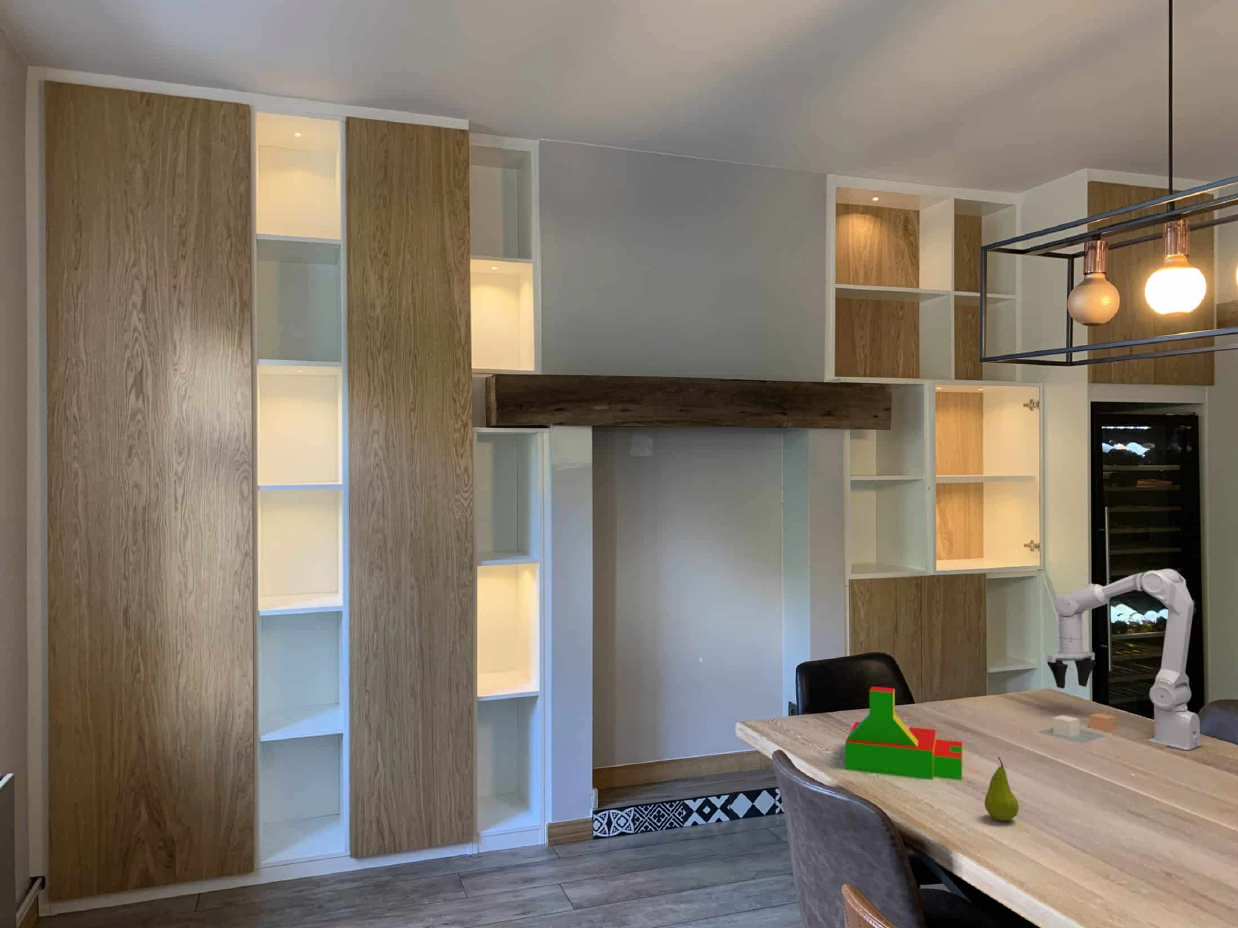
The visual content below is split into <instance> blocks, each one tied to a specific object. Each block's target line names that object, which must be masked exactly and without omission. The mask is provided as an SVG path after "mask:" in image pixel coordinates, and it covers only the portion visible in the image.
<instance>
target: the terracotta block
mask: <svg viewBox="0 0 1238 928" xmlns="http://www.w3.org/2000/svg"><path fill="white" fill-rule="evenodd" d="M1116 721H1117V720H1116V716H1115V715H1110V714H1109V715H1108V714H1103V713H1100V712H1097V713H1093V714H1091V715H1089V729H1092V730H1095V731H1096V730H1098V731H1100V732H1107V733H1108V732H1113V731H1115V730H1116V729H1117V726H1116V725H1117V722H1116Z"/></svg>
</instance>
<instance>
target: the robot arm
mask: <svg viewBox="0 0 1238 928" xmlns="http://www.w3.org/2000/svg"><path fill="white" fill-rule="evenodd" d="M1186 581H1187V580H1186V579H1185V578H1184V577H1183V576H1182V575H1181V574H1180V573H1179V572H1178V571H1177V570H1174V569H1172V568H1164V569H1158V570H1154V569H1153V570H1148V571H1146V572H1140V573H1136V574H1131V575H1129V576H1127V577H1124V578H1121V579H1119V580H1117V581H1115V582H1113V583H1110V584H1107V585H1105V586H1103V585H1100V584H1099V583H1098V584H1097V583H1095V584H1094V583H1089V584H1087V585H1086V587H1085V588H1084V587H1083V588H1082V589H1078V590H1075V589H1074V590H1071V593H1070V594H1061V595H1060V596H1058V597H1057V598H1056V599H1055V602H1054V608H1055V611H1056V612H1057V613H1058V630H1059V631H1058V632H1059V633H1058V636H1059V638H1058V639H1059V641H1058V642H1059V651H1057V652H1054V653H1050V654H1047V655H1046V656H1047V663H1046V664H1047V666H1048V667H1049V669H1050V671H1051V673H1052V675H1053V679H1054V681H1055V684H1056V685H1055V686H1056V688H1059V689H1065V687H1066V676H1067V675H1066V674H1067V670H1068V668H1069V665H1068V664H1066V663H1064V662H1070V661H1071V662H1072V661H1073V662H1074V663H1075V667H1076V672H1077V682H1078V686H1081V687H1085V688H1086V687H1087V685H1088V683H1089V682H1088V681H1089V678H1090V675H1091V673H1092V671H1093V669H1094V668H1095V666H1096V661H1095V656H1096V653H1095V652H1093V651H1083V614H1084V612H1087V611H1090V610H1092V609H1093V610H1094V609H1095V608H1096V609H1097V608H1098V607H1101V606H1105V605H1107V604H1108V602H1109V600H1110V598H1112V597H1115V596H1119V595H1121V594H1125V593H1128V592H1131V591H1134V590H1137V591H1138V592H1139V591H1140V592H1142V591H1144V592H1145V593H1147V594H1149V595H1150V596H1152V597H1153V598H1155V599H1157V600H1158V601H1160V602H1161V603H1162V604H1163V605H1164V606H1165V607H1166V608H1167V610H1168V611H1167V618H1166V626H1165V633H1164V642H1163V651H1162V657H1161V665H1160V669H1159V672H1157V675H1156V676H1155V678H1154V680H1155V681H1154V684H1153V685H1152V686H1151V688H1150V689H1149V699H1150V701H1151V702H1152V703H1153V708H1154V709H1153V714H1154V715H1153V720H1154V723H1153V724H1154V725H1153V727H1154V737H1151V738H1149V739H1147V741H1149V742H1153V743H1157V744H1161V745H1166V747H1171V748H1175V749H1179V750H1184V751H1190V750H1193V749H1196V748H1198V747H1201V746H1202V743H1201V732H1200V731H1201V728H1200V727H1201V723H1200V722H1201V721H1200V717H1199V715H1198V714H1197V713H1195V712H1192V711H1189V709H1188V705H1187V704H1188V702H1189V701H1190V700H1191V698H1192V691H1191V689H1190V685H1189V683H1190V679H1189V676H1188V674H1187V673H1186V667H1187V660H1188V652H1189V645H1190V638H1191V630H1192V623H1193V622H1192V621H1193V616H1194V615H1193V614H1194V607H1195V605H1194V601H1193V599H1192V597H1191V594H1190V592H1189V589H1188V588H1187V585H1186V584H1187V582H1186Z"/></svg>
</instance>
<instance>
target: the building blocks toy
mask: <svg viewBox="0 0 1238 928" xmlns="http://www.w3.org/2000/svg"><path fill="white" fill-rule="evenodd" d="M895 692H896V689H895V687H893V688H892V687H884V686H883V687H881V686H870V689H869V714H868V715H866V716H865V718H863V720H862V721H854V724H853V726H852V728H851V730H850V732H849V734H848V736H847V738H846V740H845V743H844V744H845V750H844V751H845V770H848V771H855V772H856V771H857V772H867V773H874V774H880V775H881V774H883V775H892V776H899V777H900V776H901V777H906V778H907V777H908V778H917V779H926V780H934V777H935V778H942V779H943V778H944V779H953V780H963V779H962V778H963V777H962V776H963V741H959V740H958V741H957V740H948V739H947V740H946V739H938V738H937V730H936V729H933V728H932V729H931V728H920V727H911V726H909V728H908V727H907V726H906V725H905V723H904V722H903V721H902V720H901V719H900V718H899V717H898V716H897V714H896V712H895V711H896V710H895V709H896V703H895V701H896V699H895V698H896V697H895V695H896V694H895Z"/></svg>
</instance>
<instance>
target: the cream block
mask: <svg viewBox="0 0 1238 928" xmlns="http://www.w3.org/2000/svg"><path fill="white" fill-rule="evenodd" d="M1052 719H1053V720H1052V722H1053V727H1052V728H1053V733H1056V734H1060V735H1064V736H1068V737H1072V736H1075V735H1078V734H1079V729H1080V719H1079V718H1076V717H1073V716H1072V717H1071V716H1069V715H1068V716H1067V715H1062V714H1061V715H1059V716H1055V717H1053V718H1052Z"/></svg>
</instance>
